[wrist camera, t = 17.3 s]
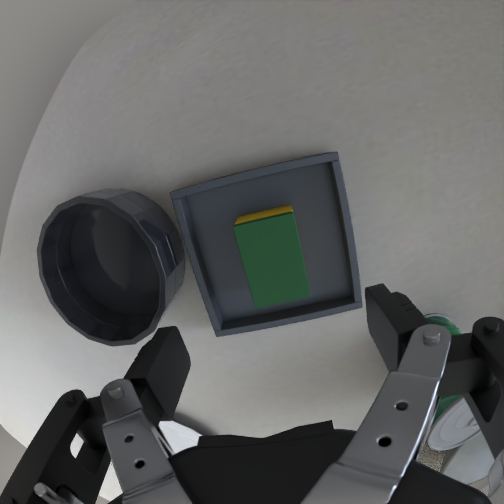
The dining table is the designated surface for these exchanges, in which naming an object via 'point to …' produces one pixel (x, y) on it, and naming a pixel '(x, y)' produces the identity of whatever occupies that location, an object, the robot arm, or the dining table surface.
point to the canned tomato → (450, 409)
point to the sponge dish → (309, 229)
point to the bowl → (468, 461)
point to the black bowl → (111, 265)
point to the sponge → (272, 256)
